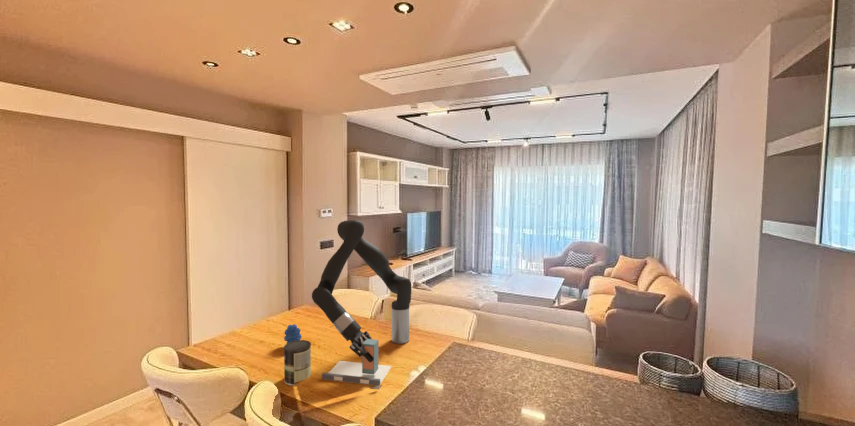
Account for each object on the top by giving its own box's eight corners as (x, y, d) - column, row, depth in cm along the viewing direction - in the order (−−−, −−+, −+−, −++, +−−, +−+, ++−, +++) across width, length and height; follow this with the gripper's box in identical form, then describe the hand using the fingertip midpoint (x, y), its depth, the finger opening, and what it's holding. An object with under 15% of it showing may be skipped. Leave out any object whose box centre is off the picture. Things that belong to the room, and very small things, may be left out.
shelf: (340, 364, 152) (340, 356, 152) (391, 369, 147) (391, 361, 147) (321, 382, 136) (321, 374, 136) (379, 389, 131) (379, 380, 131)
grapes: (308, 347, 169) (307, 323, 168) (296, 352, 163) (296, 327, 163) (292, 342, 175) (292, 319, 174) (280, 347, 169) (280, 323, 169)
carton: (366, 367, 141) (366, 338, 141) (378, 368, 140) (378, 339, 140) (362, 373, 137) (362, 343, 136) (373, 374, 136) (374, 344, 135)
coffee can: (280, 386, 133) (279, 351, 133) (288, 373, 143) (288, 340, 143) (307, 385, 134) (307, 350, 133) (313, 372, 144) (313, 339, 144)
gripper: (345, 326, 132) (374, 359, 130) (360, 314, 146) (386, 344, 144) (332, 338, 134) (361, 372, 132) (348, 325, 148) (374, 355, 146)
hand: (374, 357), depth 138 cm, fingers closed on carton, 5 cm apart
